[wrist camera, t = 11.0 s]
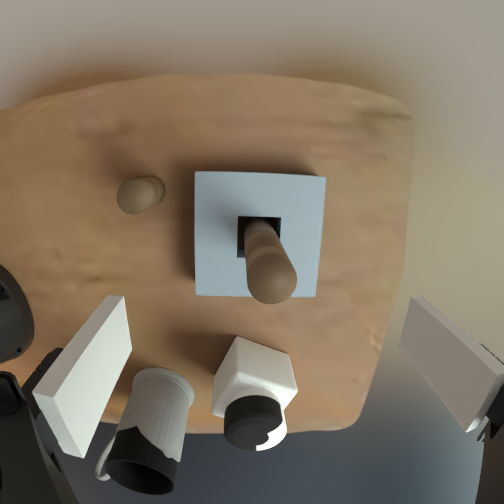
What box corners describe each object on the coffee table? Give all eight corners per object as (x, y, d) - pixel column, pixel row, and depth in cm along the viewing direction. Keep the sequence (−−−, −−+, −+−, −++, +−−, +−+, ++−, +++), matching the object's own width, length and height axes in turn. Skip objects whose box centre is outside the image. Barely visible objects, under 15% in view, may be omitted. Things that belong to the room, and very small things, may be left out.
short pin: (138, 205, 30) (117, 214, 25) (137, 176, 29) (116, 180, 24) (165, 205, 30) (149, 214, 25) (165, 175, 30) (148, 179, 24)
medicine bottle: (213, 376, 37) (206, 448, 25) (236, 334, 35) (236, 405, 23) (263, 392, 38) (271, 462, 26) (289, 353, 36) (307, 424, 25)
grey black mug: (207, 399, 38) (198, 490, 23) (139, 429, 40) (117, 504, 25) (163, 357, 36) (133, 448, 21) (98, 394, 37) (62, 468, 23)
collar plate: (199, 283, 33) (195, 295, 30) (199, 170, 30) (195, 171, 27) (308, 285, 34) (314, 296, 31) (317, 175, 30) (325, 177, 27)
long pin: (242, 244, 32) (245, 303, 18) (244, 215, 31) (248, 256, 18) (271, 245, 32) (294, 304, 19) (273, 217, 31) (299, 258, 18)
